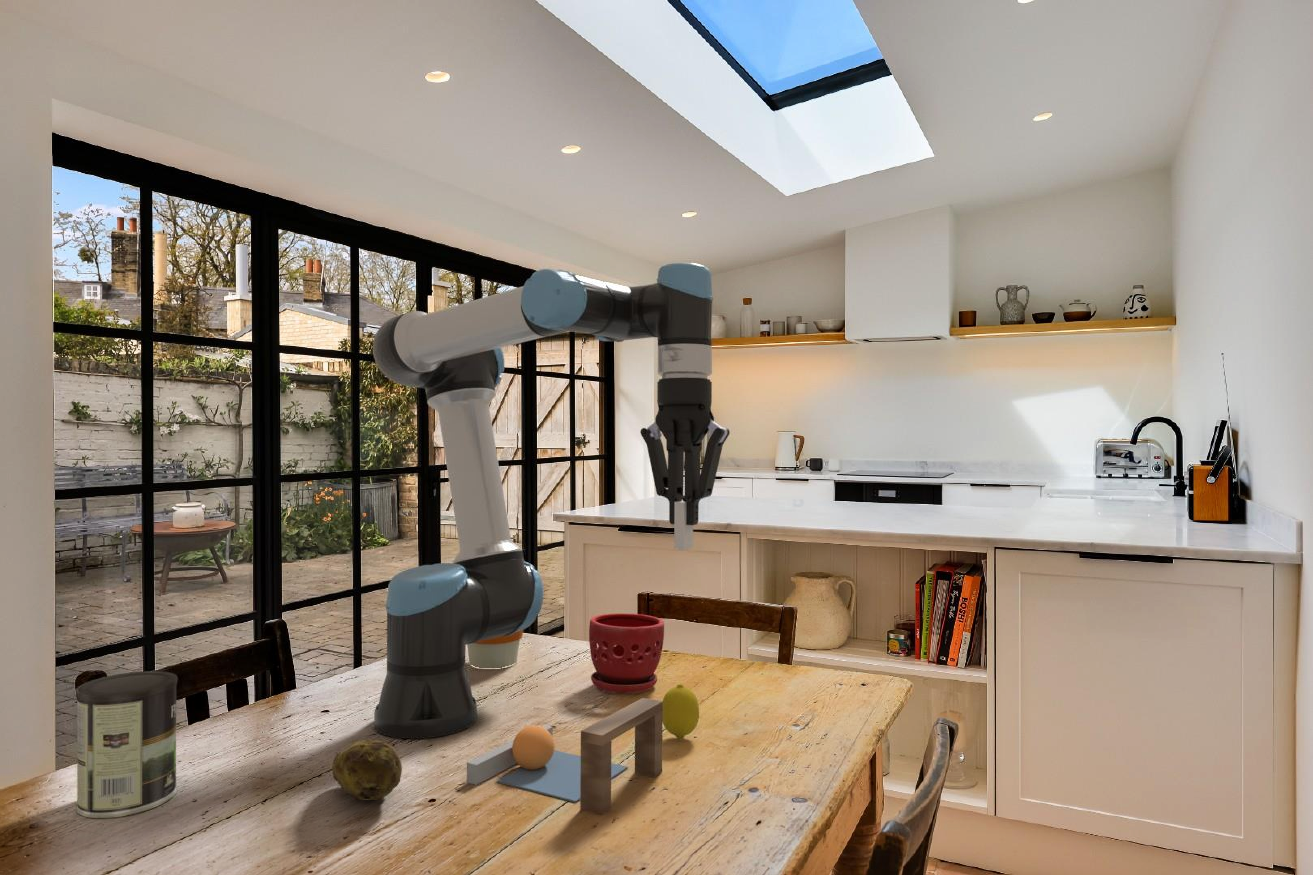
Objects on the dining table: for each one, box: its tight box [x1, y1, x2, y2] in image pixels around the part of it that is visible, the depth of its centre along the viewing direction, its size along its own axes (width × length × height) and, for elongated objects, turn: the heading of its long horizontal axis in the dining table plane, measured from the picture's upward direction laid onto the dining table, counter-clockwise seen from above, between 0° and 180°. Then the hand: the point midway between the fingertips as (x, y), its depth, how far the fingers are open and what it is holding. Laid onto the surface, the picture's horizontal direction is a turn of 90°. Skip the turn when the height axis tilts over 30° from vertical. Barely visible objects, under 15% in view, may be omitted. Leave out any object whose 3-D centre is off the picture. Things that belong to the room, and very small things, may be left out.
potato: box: [331, 739, 403, 801], centre depth 100 cm, size 8×13×8 cm, turn 16°
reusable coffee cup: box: [466, 629, 524, 668], centre depth 161 cm, size 13×13×15 cm
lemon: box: [662, 683, 700, 740], centre depth 121 cm, size 6×6×8 cm
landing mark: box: [497, 749, 629, 804], centre depth 108 cm, size 12×12×1 cm
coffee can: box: [75, 670, 179, 819], centre depth 100 cm, size 10×10×14 cm
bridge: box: [579, 697, 663, 816], centre depth 104 cm, size 3×14×9 cm, turn 151°
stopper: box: [466, 724, 554, 786], centre depth 112 cm, size 2×16×2 cm, turn 151°
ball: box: [512, 724, 555, 770], centre depth 110 cm, size 6×6×6 cm
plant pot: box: [588, 613, 665, 695], centre depth 147 cm, size 13×13×12 cm
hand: (683, 548), depth 115 cm, fingers closed
